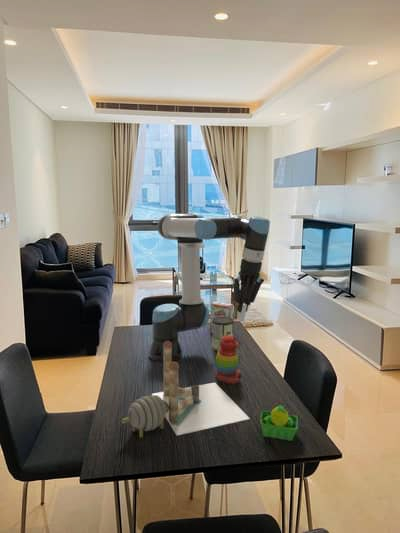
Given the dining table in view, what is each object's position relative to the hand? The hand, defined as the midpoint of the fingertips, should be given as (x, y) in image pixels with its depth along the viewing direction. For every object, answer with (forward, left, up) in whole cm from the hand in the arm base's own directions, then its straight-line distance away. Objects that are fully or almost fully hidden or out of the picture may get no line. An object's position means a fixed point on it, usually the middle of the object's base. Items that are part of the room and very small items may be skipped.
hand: (240, 319), depth 155 cm
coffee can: (-39, +12, -28) cm, 50 cm away
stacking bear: (-9, 0, -28) cm, 29 cm away
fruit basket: (+33, -3, -28) cm, 43 cm away
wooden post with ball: (0, -24, -28) cm, 37 cm away
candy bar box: (-57, +20, -28) cm, 67 cm away
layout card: (+8, -20, -28) cm, 35 cm away
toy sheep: (+15, -41, -28) cm, 52 cm away
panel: (+11, -27, -27) cm, 40 cm away
